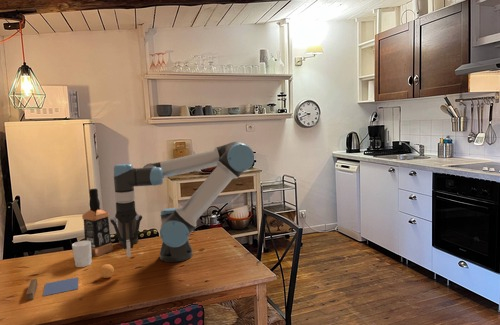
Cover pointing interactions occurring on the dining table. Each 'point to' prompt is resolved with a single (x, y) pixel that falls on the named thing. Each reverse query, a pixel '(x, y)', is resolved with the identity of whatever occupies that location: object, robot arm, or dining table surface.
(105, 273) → the ball
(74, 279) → the navy mark
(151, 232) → the dining table surface
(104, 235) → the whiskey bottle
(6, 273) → the dining table surface
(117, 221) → the pillar candle
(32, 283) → the brown wooden bar
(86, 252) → the white cup
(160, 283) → the dining table surface
